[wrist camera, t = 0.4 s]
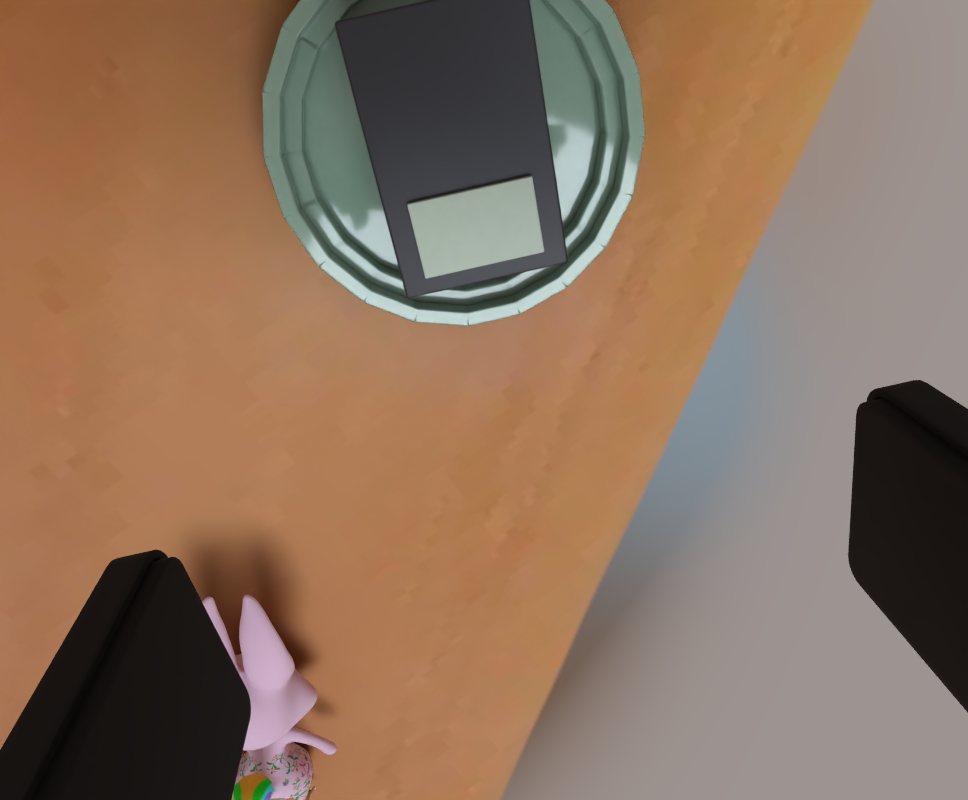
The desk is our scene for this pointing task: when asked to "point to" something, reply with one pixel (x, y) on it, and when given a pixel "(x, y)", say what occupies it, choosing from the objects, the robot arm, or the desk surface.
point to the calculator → (457, 139)
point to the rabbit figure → (271, 710)
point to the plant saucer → (351, 182)
